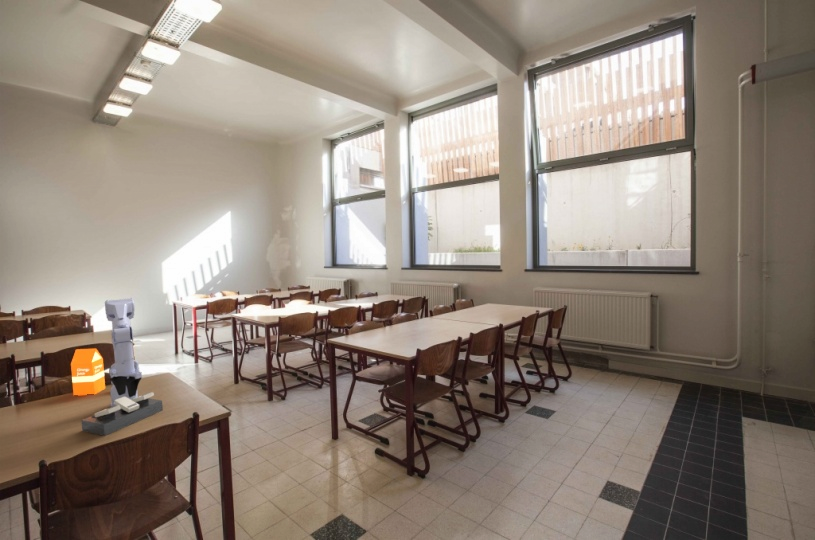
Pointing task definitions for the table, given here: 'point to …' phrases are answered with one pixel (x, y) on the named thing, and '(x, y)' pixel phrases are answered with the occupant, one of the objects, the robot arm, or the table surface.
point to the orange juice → (87, 372)
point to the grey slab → (121, 417)
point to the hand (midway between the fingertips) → (127, 395)
